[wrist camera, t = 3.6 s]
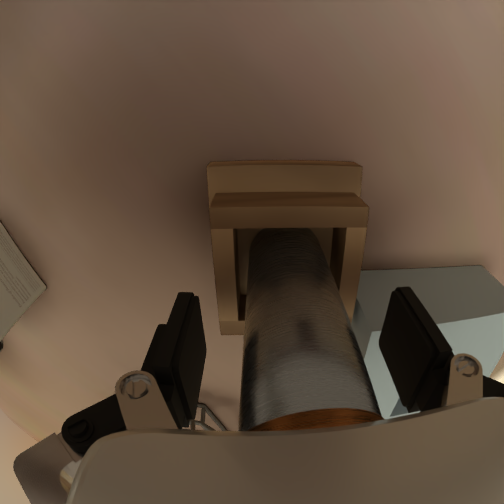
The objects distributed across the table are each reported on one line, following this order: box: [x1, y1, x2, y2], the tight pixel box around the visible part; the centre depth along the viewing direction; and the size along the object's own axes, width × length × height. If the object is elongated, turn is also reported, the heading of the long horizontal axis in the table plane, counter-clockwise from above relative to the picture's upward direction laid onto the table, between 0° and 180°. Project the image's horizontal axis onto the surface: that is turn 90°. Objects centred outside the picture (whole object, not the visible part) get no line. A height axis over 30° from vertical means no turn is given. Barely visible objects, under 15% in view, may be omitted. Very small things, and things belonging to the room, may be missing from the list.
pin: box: [238, 228, 384, 431], centre depth 11 cm, size 4×4×14 cm
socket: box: [351, 265, 504, 419], centre depth 19 cm, size 12×12×6 cm
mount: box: [206, 160, 369, 335], centre depth 17 cm, size 10×8×4 cm
